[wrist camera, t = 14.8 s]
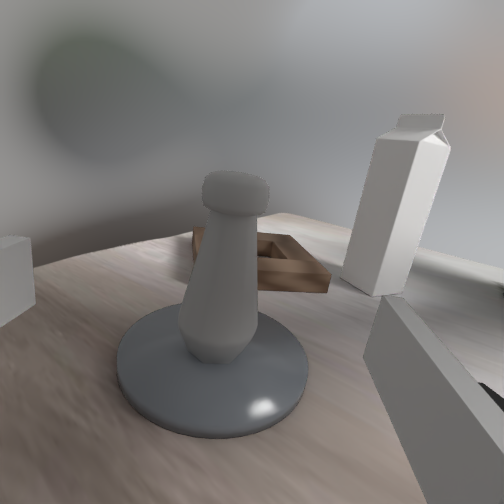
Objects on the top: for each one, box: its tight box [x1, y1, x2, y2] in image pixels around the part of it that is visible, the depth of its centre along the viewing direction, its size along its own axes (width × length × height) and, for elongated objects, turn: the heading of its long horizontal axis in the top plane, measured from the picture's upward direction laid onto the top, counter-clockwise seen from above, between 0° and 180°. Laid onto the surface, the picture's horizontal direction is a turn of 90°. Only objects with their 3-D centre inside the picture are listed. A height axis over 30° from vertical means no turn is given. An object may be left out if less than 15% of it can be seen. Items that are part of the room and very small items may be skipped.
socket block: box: [192, 227, 332, 293], centre depth 44 cm, size 16×16×2 cm
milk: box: [340, 114, 451, 297], centre depth 40 cm, size 6×6×22 cm
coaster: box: [117, 304, 308, 439], centre depth 24 cm, size 14×14×1 cm
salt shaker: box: [178, 171, 269, 364], centre depth 22 cm, size 6×6×13 cm
